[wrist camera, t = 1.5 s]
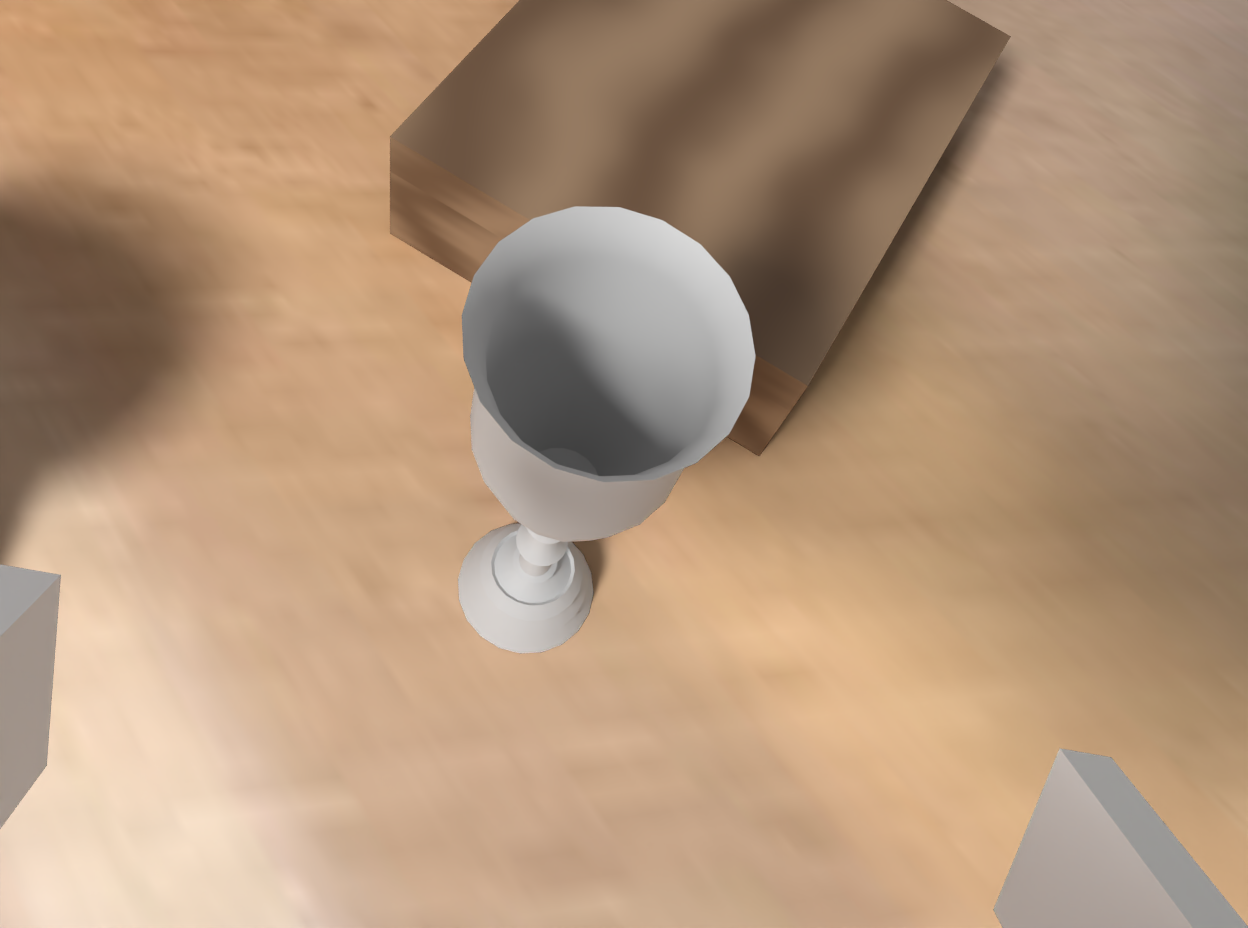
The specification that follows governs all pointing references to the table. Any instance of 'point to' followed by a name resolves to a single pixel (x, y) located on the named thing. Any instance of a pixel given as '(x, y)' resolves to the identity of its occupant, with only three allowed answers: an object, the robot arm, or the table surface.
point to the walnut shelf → (703, 145)
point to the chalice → (588, 401)
